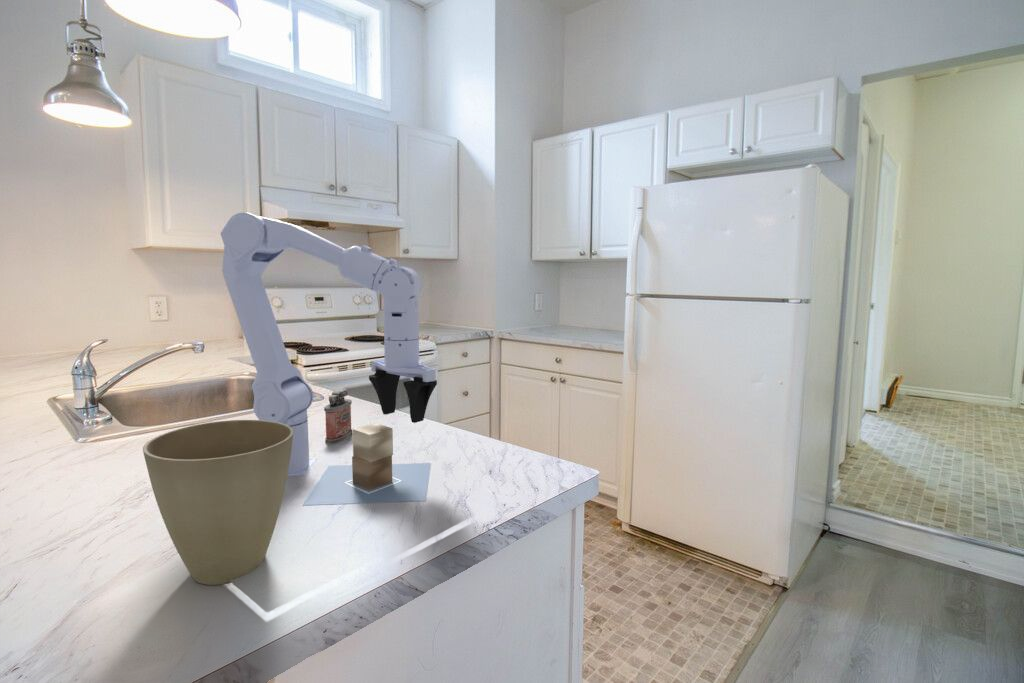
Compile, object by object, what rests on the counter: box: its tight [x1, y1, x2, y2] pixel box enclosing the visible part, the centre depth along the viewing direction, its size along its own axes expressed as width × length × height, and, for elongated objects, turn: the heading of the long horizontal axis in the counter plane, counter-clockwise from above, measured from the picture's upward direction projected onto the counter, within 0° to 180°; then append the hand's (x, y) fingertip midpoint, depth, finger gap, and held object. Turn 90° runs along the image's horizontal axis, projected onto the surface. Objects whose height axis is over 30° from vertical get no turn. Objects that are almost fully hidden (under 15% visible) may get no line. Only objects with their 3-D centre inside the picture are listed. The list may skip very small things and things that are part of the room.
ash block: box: [352, 423, 394, 462], centre depth 84 cm, size 4×4×4 cm
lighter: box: [323, 388, 353, 445], centre depth 109 cm, size 8×3×10 cm, turn 168°
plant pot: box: [142, 419, 293, 586], centre depth 60 cm, size 15×15×16 cm
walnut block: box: [351, 455, 393, 490], centre depth 85 cm, size 4×4×4 cm
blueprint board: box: [302, 462, 432, 507], centre depth 85 cm, size 18×16×1 cm
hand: (402, 417), depth 89 cm, fingers open, 7 cm apart
